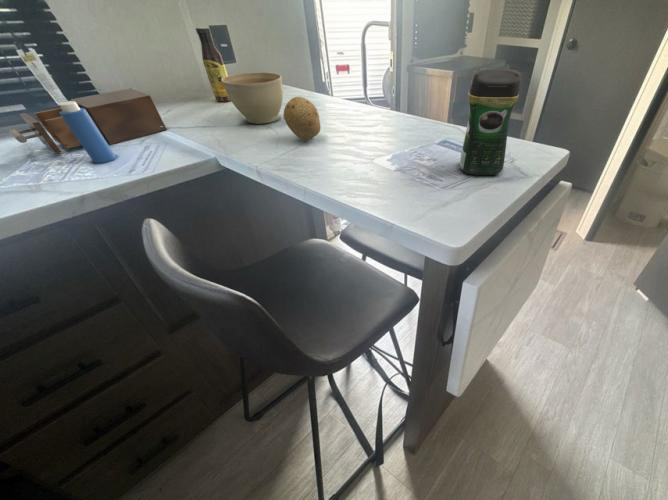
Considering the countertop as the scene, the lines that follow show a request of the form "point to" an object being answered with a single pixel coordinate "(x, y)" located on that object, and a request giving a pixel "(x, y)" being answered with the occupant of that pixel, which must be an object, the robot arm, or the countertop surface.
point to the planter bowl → (256, 95)
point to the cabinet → (123, 114)
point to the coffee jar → (489, 120)
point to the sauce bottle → (213, 64)
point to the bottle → (86, 132)
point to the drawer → (49, 130)
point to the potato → (302, 118)
